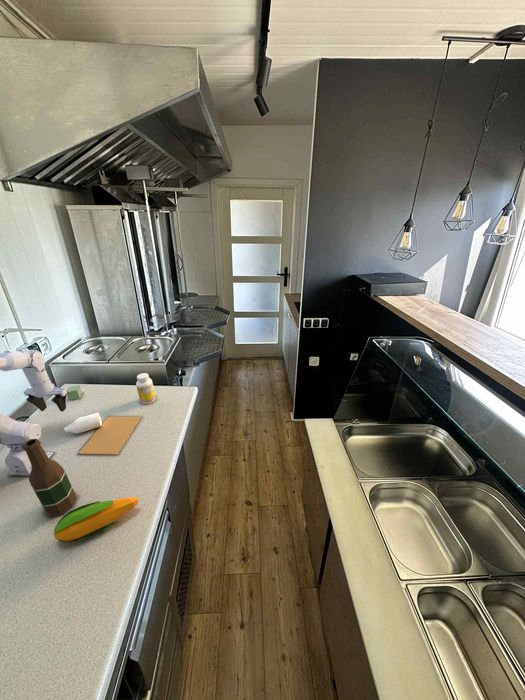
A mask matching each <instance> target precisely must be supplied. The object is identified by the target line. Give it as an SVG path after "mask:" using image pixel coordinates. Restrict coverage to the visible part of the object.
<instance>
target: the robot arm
mask: <svg viewBox="0 0 525 700" xmlns="http://www.w3.org/2000/svg"><path fill="white" fill-rule="evenodd" d="M44 360H45V357H44V353H42V352H40V351H39V350H37V349H29V350H26V349H18V350H15V351H13V350H11V349H10V350H9V349H7V350H4V352H1V353H0V371H2V372H10V371H16V370H22V372H23V374H24V376H25V378H26V380H27V381H28V384H29V385H30V388H28V387H27V388H25V390H23V391H22V392H23V394H24V397H27V398H26V402H28V403H31V404H32V405H33V406H35V407H36V408H37V409H38V410H39V411H41V412H44V411H45V410H46V409H47V408H48V406H47V403H46V401H45V397H50V396H51V397H52V396H54V397H53V398H52V399H51V402H53V404H55V405H56V407H57V408H58V409H59V411H60V412H64V411H65V410H67V397H68V396H67V389H66V388H61V387H59V386H55V383H52V381H51V379H50V376H49V375H48V373H47V370H46V364H45V361H44ZM41 436H42V428H41V426H40V424H38V423H30V422H26V421H21V420H16V419H13V418H12V417H9V416H8V415H5V414H4V413H1V412H0V445H2V446H6V447H7V449H9V452H8V454H7V455H6V457H5V458H4V462H5V464H6V466H7V467H8V469H9V471H10V473H9V475H10V476H29V475H30V472H31V470H32V467H31V463H30V460H29V458H28V455H27V453H26V451H25V450H24V449H23V445H24V443H25V442H27V441H29V440H31V439H36V438H37V439H38V440H39V441H40V438H41ZM40 445H41V446H42V448H43V450H44V451H45V449H44V447H43V445H42V443H41V444H40ZM45 453H46V455H47V456H48V458H49V459H51V457H52V455H54V452H51V451H49V452H48V451H45Z"/></svg>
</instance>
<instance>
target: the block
mask: <svg viewBox="0 0 525 700" xmlns="http://www.w3.org/2000/svg"><path fill="white" fill-rule="evenodd" d="M66 391H67V396H66V397H67V399H68V401H74V400H78V399H79V400H80V399H81V398H82V394H83V390H82V388H81V385H80V384H78V385H73V386H72V385H71V386H68V387H67V389H66Z"/></svg>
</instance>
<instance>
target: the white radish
mask: <svg viewBox="0 0 525 700" xmlns="http://www.w3.org/2000/svg"><path fill="white" fill-rule="evenodd" d="M102 424H103V421H102V417H101V414H100V413H99V412H95V413H91V414H88V415H85V416H81V417H78V418H76V419H75V420H73V422H72V423H70V424H68V425H67V426H65V427H64V429H63V430H64V431H65V432H66V433H73V434H81V433H84V432H87V431H90V430H94V429H96V428H99V427H100V426H102Z"/></svg>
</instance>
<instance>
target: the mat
mask: <svg viewBox="0 0 525 700" xmlns="http://www.w3.org/2000/svg"><path fill="white" fill-rule="evenodd" d="M141 419H142V416H107V417H106V418H105V420H104V421H102V426H100V427H98V429H97V430H96V431H95V432H94V433H93V434H92V436H91V437H90V438H89V440H88V441H87V442H86V443H85V445H84V446H83V447H82V448H81V449H80V451H79V452H78V455H105V456H106V455H107V456H109V455H110V456H111V455H112V456H113V455H115V456H118V455H119V453H120V451H121V450H122V449H123V447H124V445H125V444H126V442H127V441H128V439H129V437H130V436H131V435H132V433H133V431H134V430H135V428H136V427H137V425H138V423H139V422H140V421H141Z"/></svg>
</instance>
